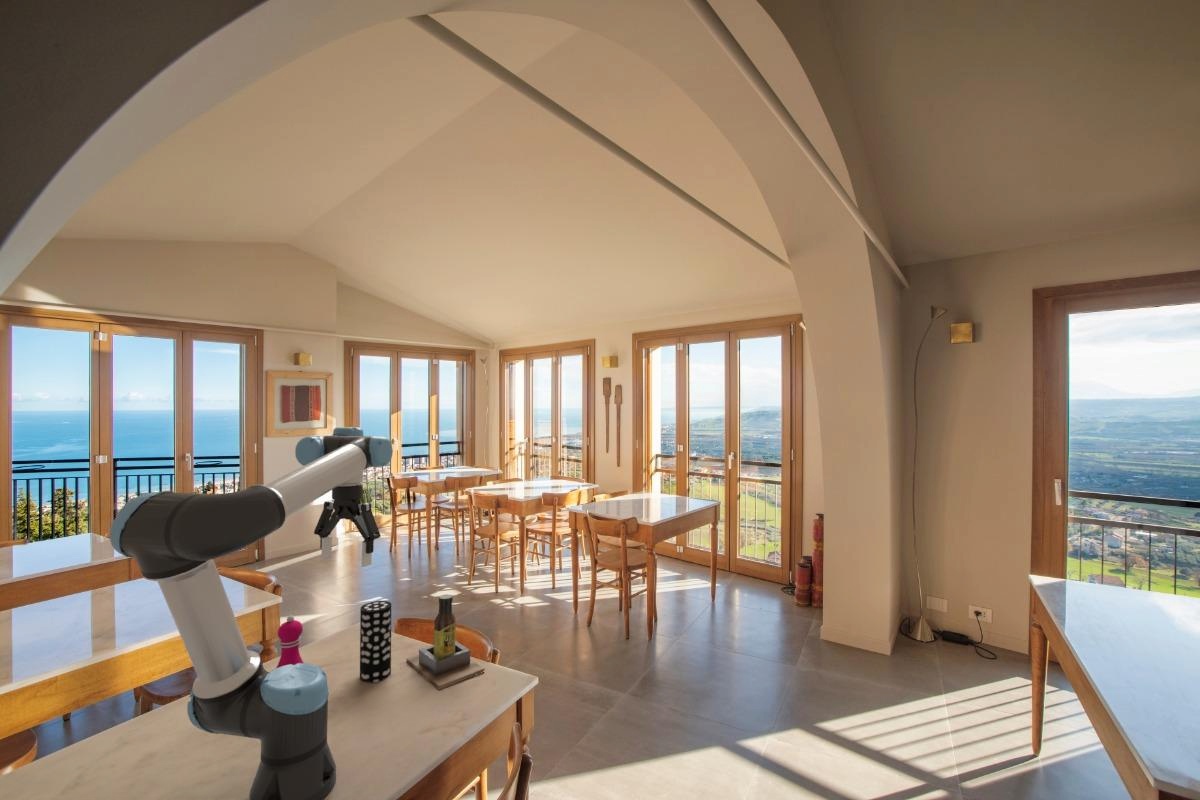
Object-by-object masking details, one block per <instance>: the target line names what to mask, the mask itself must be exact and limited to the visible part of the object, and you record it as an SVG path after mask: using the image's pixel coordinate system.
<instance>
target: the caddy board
mask: <svg viewBox="0 0 1200 800" xmlns="http://www.w3.org/2000/svg"><path fill="white" fill-rule="evenodd" d="M406 663H407V664H409V665H410V666H411V667H412V668H413V669H414V670H416V671H417V672H418V673H419V674H421V676H423V677H424V678H425V679H426V680H427V681H429V683H431V684H432V685H433V686H435V687H436V688H437V689H438V690H442V689H444V688H447V687H450V686H452V685H454V684H457V683H460V682H462V681H465V680H467V678H468V679H470V678H472V677H471V676H473V677H475V676H477V675H476V674H478V675H480V674H479V673H481V672H483V671H484V672H485V668H484V667H482V666H481V665H480V664H478V663H477V662H476V661H474V660H472V659H471V658H470V664H468V665H466V666H463V667H460V668H457V669H455V670H452V671H449V672H447V673H444V674H441V675H438V676H436V677H435V676H434V675H433V674H432V673H431V672H429V671H428V670H427V669H426V668H424V667H423V666H422V665H421V664H420V663H419V653H418V654H415V655H413V656H409V657H406ZM484 672H483V673H484ZM481 674H482V673H481ZM474 675H475V676H474ZM469 677H470V678H469Z"/></svg>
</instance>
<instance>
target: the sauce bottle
mask: <svg viewBox="0 0 1200 800" xmlns="http://www.w3.org/2000/svg"><path fill="white" fill-rule="evenodd" d="M453 600H454V599H453V595H452V594H442V595H440V596H438V603H439V606H438V613H437V615H436V617H435V619H434V628H433V645H434V654H433V655H434V656H435V657H436V658H438V659H439V658H442V657H445V656H448V655H451V654H454V653H455V641H456V625H457V624H456V623H457V622H456V616H455V615H454V613H453Z"/></svg>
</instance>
